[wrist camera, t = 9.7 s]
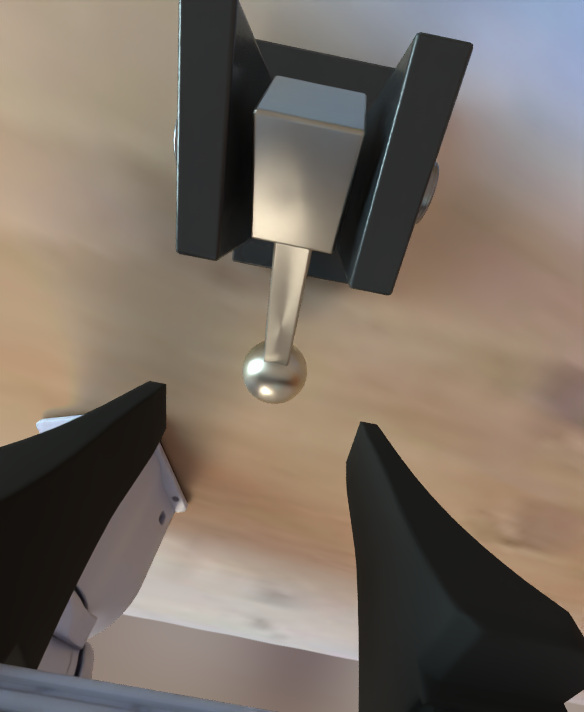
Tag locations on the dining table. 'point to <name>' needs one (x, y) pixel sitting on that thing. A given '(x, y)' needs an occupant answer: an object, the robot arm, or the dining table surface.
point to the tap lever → (297, 209)
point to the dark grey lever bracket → (377, 160)
